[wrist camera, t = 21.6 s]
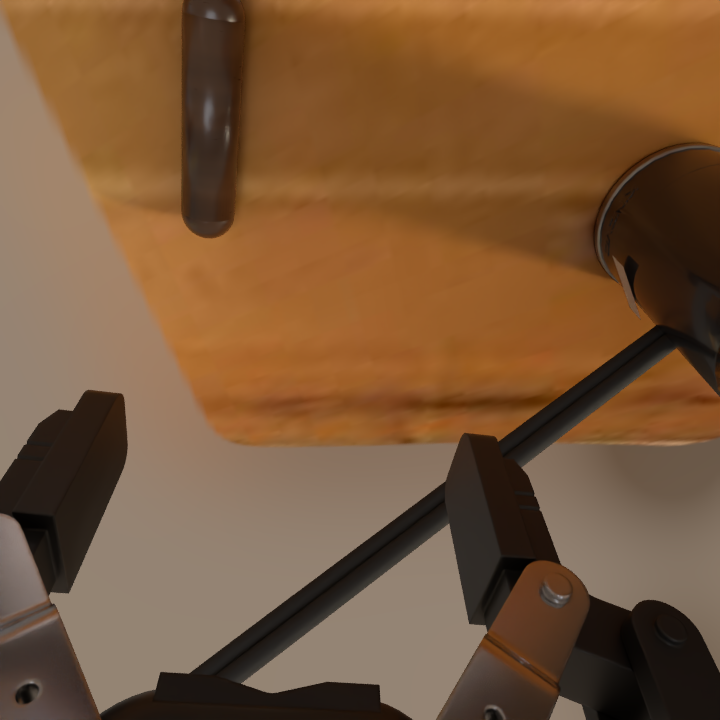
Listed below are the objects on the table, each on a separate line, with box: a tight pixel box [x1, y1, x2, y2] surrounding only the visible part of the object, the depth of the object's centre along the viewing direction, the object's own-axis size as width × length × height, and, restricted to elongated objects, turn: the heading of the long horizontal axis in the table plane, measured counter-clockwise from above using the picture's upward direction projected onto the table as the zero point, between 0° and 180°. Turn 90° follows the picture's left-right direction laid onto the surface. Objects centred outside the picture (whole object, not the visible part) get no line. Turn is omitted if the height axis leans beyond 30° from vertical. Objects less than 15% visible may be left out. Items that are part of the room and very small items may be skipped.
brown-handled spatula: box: [181, 0, 245, 238], centre depth 29 cm, size 20×3×3 cm, turn 170°
